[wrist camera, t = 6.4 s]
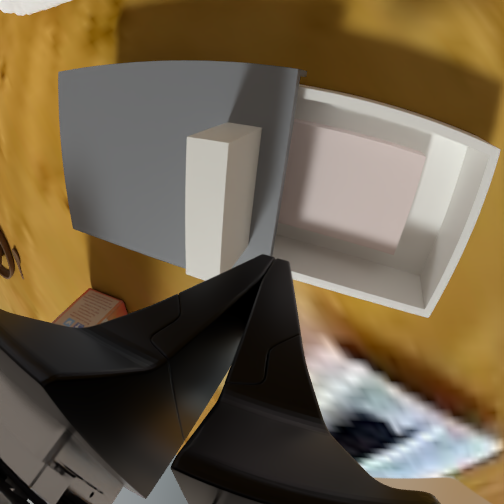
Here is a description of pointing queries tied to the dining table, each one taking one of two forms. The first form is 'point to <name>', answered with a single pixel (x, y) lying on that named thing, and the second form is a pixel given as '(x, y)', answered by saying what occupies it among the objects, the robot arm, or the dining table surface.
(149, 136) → the lid
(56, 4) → the crumpled cloth
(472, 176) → the tray
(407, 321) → the dining table surface
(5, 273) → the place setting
